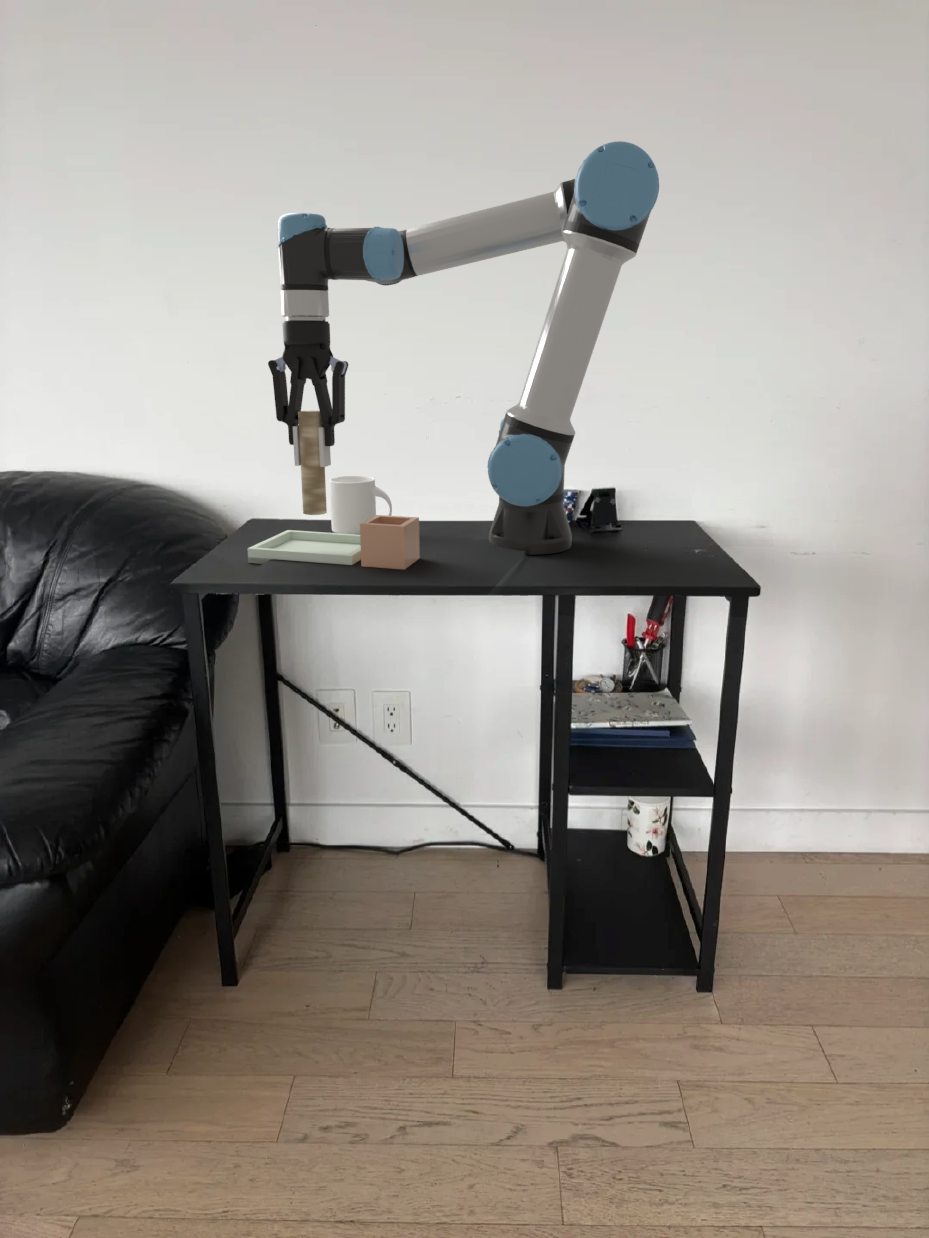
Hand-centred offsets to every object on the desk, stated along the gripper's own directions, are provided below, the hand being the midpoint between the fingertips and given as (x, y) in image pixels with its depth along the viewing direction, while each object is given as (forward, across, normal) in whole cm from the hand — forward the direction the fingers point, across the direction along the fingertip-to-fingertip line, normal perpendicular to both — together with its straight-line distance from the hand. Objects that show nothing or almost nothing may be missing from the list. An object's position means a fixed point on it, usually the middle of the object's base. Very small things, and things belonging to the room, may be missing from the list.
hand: (312, 465), depth 148 cm
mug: (+16, -1, -18) cm, 24 cm away
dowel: (+8, 0, 0) cm, 8 cm away
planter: (+16, -15, +4) cm, 22 cm away
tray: (+16, 0, 0) cm, 16 cm away
